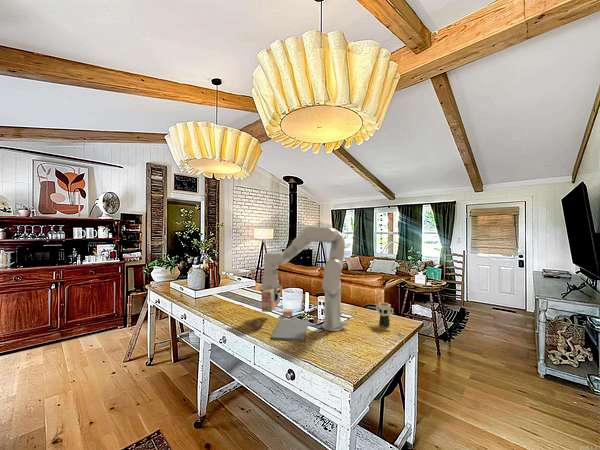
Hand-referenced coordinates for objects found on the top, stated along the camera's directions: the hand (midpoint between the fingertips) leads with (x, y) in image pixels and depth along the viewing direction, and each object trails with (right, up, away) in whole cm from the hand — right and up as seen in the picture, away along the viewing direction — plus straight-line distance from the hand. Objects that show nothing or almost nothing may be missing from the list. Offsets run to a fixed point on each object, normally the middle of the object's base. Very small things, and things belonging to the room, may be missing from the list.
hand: (271, 299), depth 169 cm
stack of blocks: (0, -5, +1) cm, 5 cm away
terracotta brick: (+10, -14, +9) cm, 19 cm away
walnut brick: (-8, -14, -11) cm, 20 cm away
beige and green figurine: (+71, -14, -6) cm, 73 cm away
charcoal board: (+14, -13, -15) cm, 24 cm away
